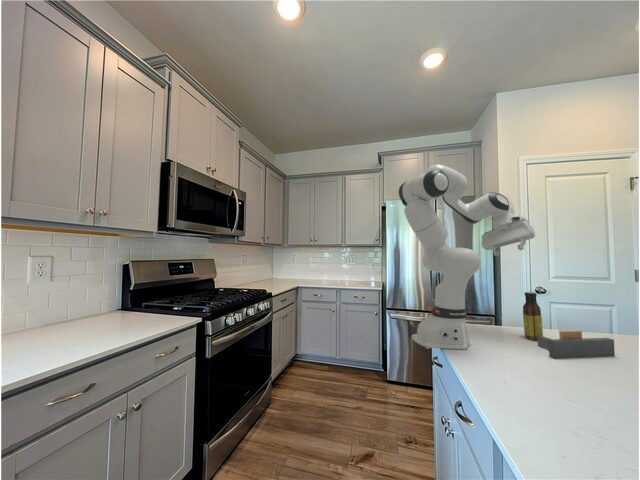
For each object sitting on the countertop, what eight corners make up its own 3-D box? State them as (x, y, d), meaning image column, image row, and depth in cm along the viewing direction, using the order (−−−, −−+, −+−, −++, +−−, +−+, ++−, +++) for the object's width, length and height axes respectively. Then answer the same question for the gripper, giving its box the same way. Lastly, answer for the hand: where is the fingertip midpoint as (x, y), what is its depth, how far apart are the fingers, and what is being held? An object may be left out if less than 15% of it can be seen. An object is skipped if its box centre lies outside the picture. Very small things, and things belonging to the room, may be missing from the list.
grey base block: (554, 358, 91) (554, 341, 91) (524, 346, 103) (523, 330, 103) (614, 356, 93) (613, 339, 93) (578, 344, 105) (577, 329, 105)
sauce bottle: (541, 338, 113) (540, 292, 114) (544, 342, 107) (543, 294, 108) (522, 335, 116) (521, 290, 117) (524, 339, 111) (523, 292, 112)
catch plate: (563, 351, 95) (562, 331, 96) (559, 350, 97) (559, 330, 97) (582, 351, 96) (581, 331, 97) (579, 349, 97) (578, 330, 98)
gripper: (477, 230, 126) (479, 255, 119) (526, 214, 110) (532, 242, 103) (485, 236, 128) (487, 261, 121) (534, 221, 112) (540, 248, 105)
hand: (508, 252), depth 112 cm, fingers open, 8 cm apart
